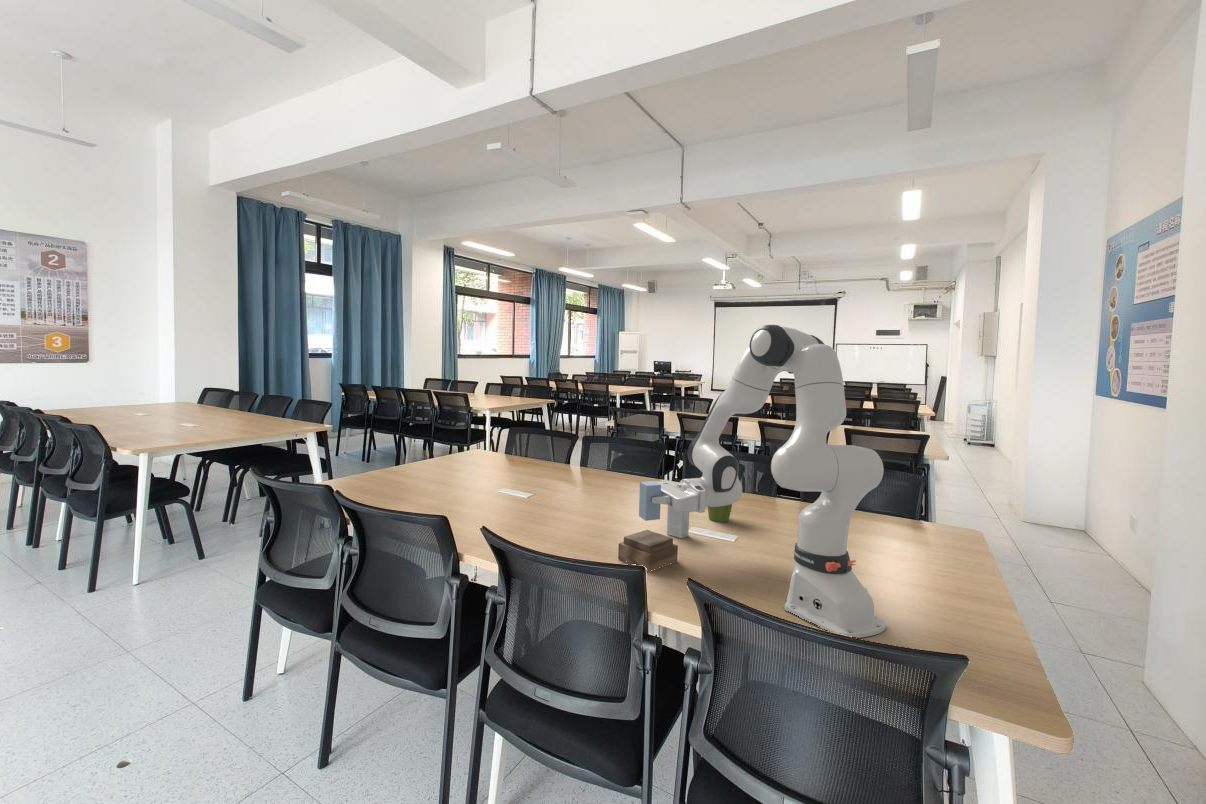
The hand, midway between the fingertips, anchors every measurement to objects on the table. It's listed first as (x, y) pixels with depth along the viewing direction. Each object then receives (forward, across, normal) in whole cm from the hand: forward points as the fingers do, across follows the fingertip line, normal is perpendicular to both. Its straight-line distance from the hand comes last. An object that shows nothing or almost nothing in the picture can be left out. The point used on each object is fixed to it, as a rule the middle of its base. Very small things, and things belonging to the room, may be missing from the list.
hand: (647, 497), depth 155 cm
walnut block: (-1, 0, +19) cm, 19 cm away
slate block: (-1, 0, +6) cm, 6 cm away
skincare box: (-20, -17, +19) cm, 32 cm away
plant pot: (-43, -28, +19) cm, 54 cm away
